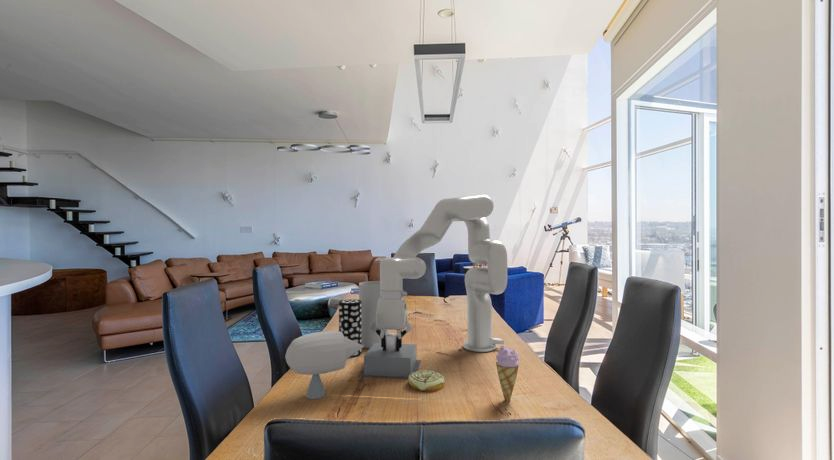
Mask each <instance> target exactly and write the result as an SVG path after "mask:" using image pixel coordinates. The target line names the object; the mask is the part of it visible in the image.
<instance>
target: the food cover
mask: <svg viewBox="0 0 834 460" xmlns="http://www.w3.org/2000/svg"><path fill="white" fill-rule="evenodd" d="M397 337H398V335H397V333H393V332H392V333H391V332H390V334H386V335H385V348H386V350H385V351H383V347H381V343H374V344H373V346H372V347H371V348H368V350H367V352H366V353H365V354H364V355H363V369H364V375H373V376H396V377H409V375H410V374H411V373H412V372H413V370H414V367H415V364H416V362H417V360H418V359H417V357H418V356H417V355H418V354H417V344H416V343H402V347H401V348H400V350H399V351H397V350H396V339H397Z"/></svg>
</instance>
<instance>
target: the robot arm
mask: <svg viewBox="0 0 834 460" xmlns="http://www.w3.org/2000/svg"><path fill="white" fill-rule="evenodd" d="M493 211H494V202H493V200H492V198H491V197H490V196H489V195H487V194H477V195H476V194H475V195H465V196H461V197H449V198H443V199H441V200H439V201H437V203H436V204H435V206H434V207H433V209H432V210H431V212H430V213H429V215H428V216H427V218H426V220H424V223H423V224H422V226H421V227H420V228H419V229H418V230H417V231H415V232H414V233H413V234H412V235H410V237H408V238H407V239H406V240H405V241H404V242H403V243H402V244H401V245H400V246H399V247H398V249H397V251H396V252H395V253H394V255H393V257H384V258H382V259H381V260H380V261H379V281H380V298H379V299H378V303H377V311H376V320H375V322H374V323H373V325H372V326H371V329H372V330H373V331H375V332H376V333H377V334H378V335H379V336H380V338H381V347H383V351H385V350H386V348H385V333H386V329H388V330H390V331H392V330H394V331H395V330H396V334H397V339H396V350H397V351H399V350H400V348H401V347H402V344H403V343H402V342H403V341H402V338H403V337H404V336H405V335H406V334H408V333H409V332H411V331H412V330H413V327H412V325H411V323H410V322H409V320H408V313H407V312H408V310H407V302H406V298H404V297H405V296H406V297H407V296H408V292H407V291H404V289H403V286H404V285H403V281H404V280H403V279H411V280H416V279H420V278H422V276H424V275H425V273H426V271H427V264H426V262H425V261H424V259H421V258H420V257H417V256H418V254H420V253H421V252H422V251H424V250H427V249H429V248H431V247H433V246H436V245H437V244H439V243H441V241H442V240H443V238H444V236H445V235H446V233H447V232H448V230H449V228H450V227H451V225H452V223H454V222H464V224H465V226H466V228H467V253H468V254H467V255H468V260H469V261H470V262H472V263H473V264H477V265H487V267H483V266H482V267H481V266H480V267H479V266H477V267H476V266H474V267H471V268H469V269H468V270H467V271H466V272H465V275H464V286H465V291H466V299H467V301H466V303H467V307H466V311H467V312H466V314H467V316H466V317H467V318H466V319H467V320H466V322H467V325H466V326H467V331H466V335H467V337H466V338H467V339H466V341H465V342H464V343H463V347H462V348H464V349H465V350H467V351H470V352H477V353H487V352H492V351H494V350H495V349H496V348H497V347H496V346H497V345H504V344H505V343H504V342H505V341H504V339H502V338H498V337H496V338H495V337H493V334H492V333H493V332H492V330H493V327H492V325H493V323H492V319H493V317H492V316H493V315H492V313H493V312H492V309H493V308H492V307H493V305H492V298H491V295H500V294H503V293H504V292H505V290H506V289H507V286H508V252H507V248H506V246H505V245H504V243H503V242H502V241H499V240H497V239H496V240H495V239H494V240H493V239H491V236H490V235H491V232H490V224H489V221H488V220H487V219H486V218H488V217H489V216H491V214H492V212H493ZM490 294H491V295H490ZM380 329H381V330H380Z"/></svg>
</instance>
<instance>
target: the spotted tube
mask: <svg viewBox="0 0 834 460" xmlns="http://www.w3.org/2000/svg"><path fill="white" fill-rule="evenodd" d="M338 331H340V332H342V333H343V335H344V337H345V338H347V339H350V340H352V341H354V342H357V343H359V344H361V345H362V304H361V300H359V299H353V298H352V299H351V298H350V299H342V300H339V301H338ZM362 351H363V348H362V349H360V350H359V351H358V352H356V353H355V354H353V355H352V356H351V357H349V358H356V357H359V356H362V353H363V352H362ZM349 358H348V359H349Z"/></svg>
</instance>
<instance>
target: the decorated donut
mask: <svg viewBox="0 0 834 460" xmlns="http://www.w3.org/2000/svg"><path fill="white" fill-rule="evenodd" d="M407 380H408V383H409V385H410V388H412V389H414V390H417V391H420V392H437V391H440V390H441V389H443V388H444V384H445V378H444V376H443V374H441V373H440V372H437V371H434V370H430V369H421V370H418V371H416V372H413V373H411V374H410V375H409V378H408V379H407Z"/></svg>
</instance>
